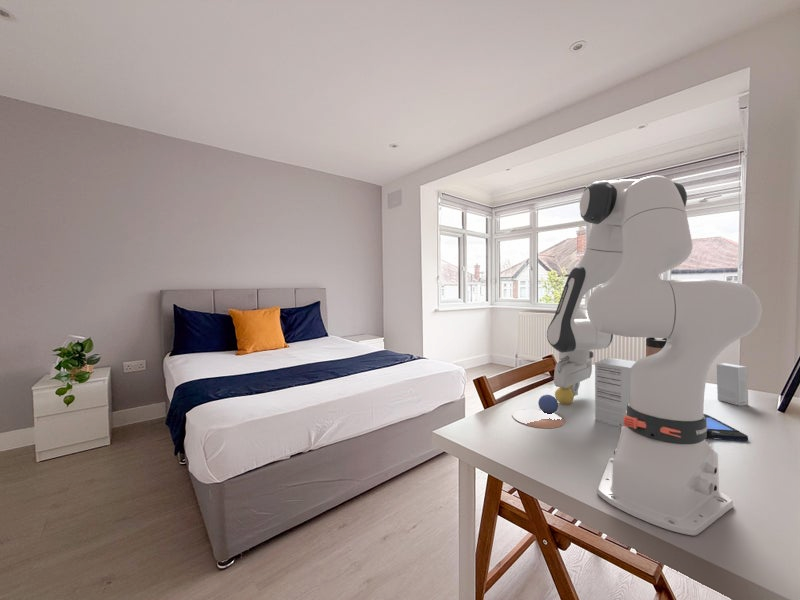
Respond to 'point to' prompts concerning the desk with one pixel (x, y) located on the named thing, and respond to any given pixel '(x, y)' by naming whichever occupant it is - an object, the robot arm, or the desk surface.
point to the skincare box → (732, 383)
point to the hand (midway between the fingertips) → (573, 395)
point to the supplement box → (612, 390)
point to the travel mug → (654, 345)
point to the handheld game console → (722, 430)
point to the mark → (547, 423)
